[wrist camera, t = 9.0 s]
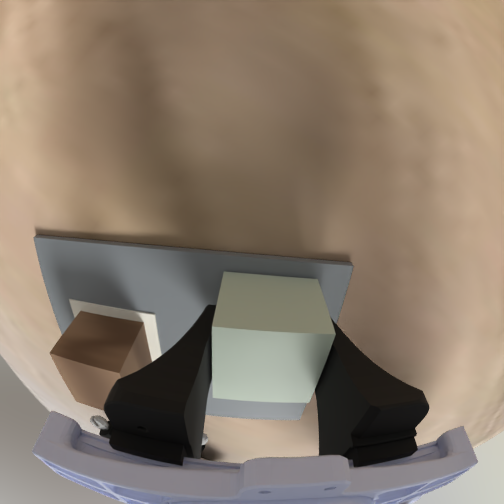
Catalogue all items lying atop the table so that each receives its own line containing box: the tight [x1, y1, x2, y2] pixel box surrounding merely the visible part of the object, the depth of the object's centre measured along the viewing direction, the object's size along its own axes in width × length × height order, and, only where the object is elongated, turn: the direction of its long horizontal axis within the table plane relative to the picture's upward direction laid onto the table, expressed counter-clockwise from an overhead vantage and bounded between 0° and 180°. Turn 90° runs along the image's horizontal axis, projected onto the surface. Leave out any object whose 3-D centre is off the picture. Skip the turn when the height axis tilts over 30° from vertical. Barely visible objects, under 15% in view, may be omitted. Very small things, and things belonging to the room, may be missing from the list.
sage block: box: [212, 271, 336, 403], centre depth 12 cm, size 4×4×4 cm
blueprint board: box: [34, 235, 354, 420], centre depth 16 cm, size 18×14×1 cm
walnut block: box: [50, 311, 152, 410], centre depth 14 cm, size 4×4×4 cm
